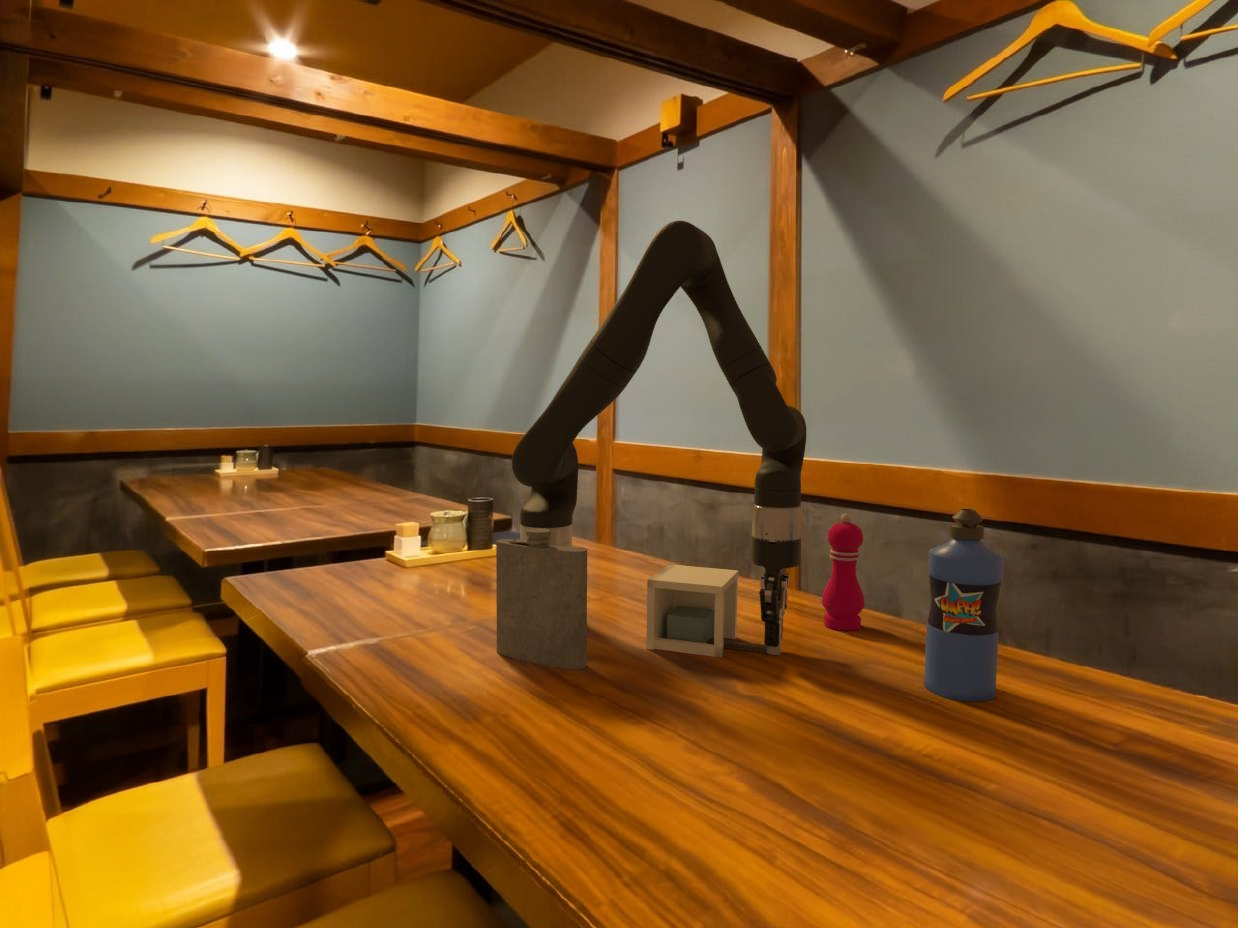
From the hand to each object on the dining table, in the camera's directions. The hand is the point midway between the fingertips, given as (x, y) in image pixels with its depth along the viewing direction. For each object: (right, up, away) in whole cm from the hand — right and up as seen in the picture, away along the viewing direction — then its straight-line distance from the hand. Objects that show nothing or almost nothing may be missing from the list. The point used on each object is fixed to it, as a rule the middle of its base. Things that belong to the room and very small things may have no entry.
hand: (773, 642), depth 120 cm
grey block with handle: (-7, -1, +3) cm, 8 cm away
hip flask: (-36, -2, -4) cm, 37 cm away
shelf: (-12, -1, +5) cm, 13 cm away
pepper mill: (+15, -1, +15) cm, 21 cm away
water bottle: (+23, -3, -14) cm, 27 cm away
